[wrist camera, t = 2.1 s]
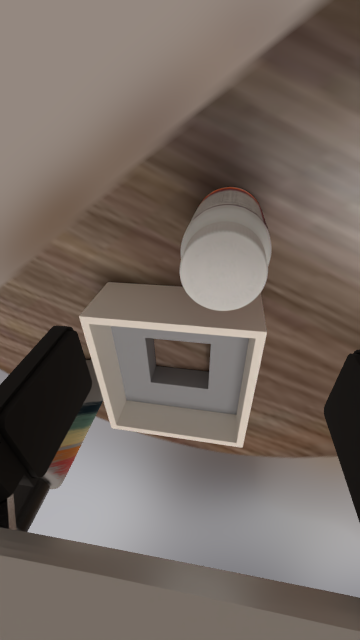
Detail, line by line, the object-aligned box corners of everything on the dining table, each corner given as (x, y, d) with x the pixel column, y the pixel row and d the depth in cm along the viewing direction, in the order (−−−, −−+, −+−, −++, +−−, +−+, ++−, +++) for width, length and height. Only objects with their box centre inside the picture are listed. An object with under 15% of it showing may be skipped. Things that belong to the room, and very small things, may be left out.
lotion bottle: (86, 385, 43) (-5, 540, 27) (71, 359, 39) (-42, 516, 23) (118, 385, 41) (43, 548, 25) (105, 358, 38) (11, 524, 22)
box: (260, 291, 28) (266, 332, 22) (241, 401, 38) (242, 447, 33) (107, 282, 31) (78, 316, 25) (128, 387, 41) (111, 428, 35)
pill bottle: (246, 261, 26) (251, 331, 17) (187, 243, 26) (161, 303, 17) (274, 197, 23) (300, 242, 14) (205, 175, 23) (185, 206, 14)
